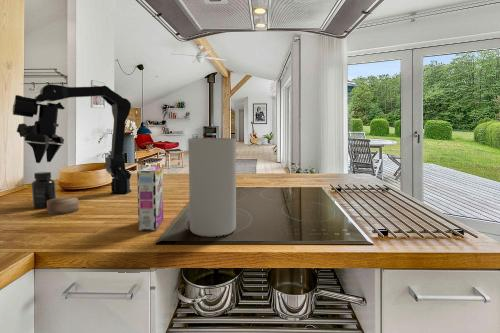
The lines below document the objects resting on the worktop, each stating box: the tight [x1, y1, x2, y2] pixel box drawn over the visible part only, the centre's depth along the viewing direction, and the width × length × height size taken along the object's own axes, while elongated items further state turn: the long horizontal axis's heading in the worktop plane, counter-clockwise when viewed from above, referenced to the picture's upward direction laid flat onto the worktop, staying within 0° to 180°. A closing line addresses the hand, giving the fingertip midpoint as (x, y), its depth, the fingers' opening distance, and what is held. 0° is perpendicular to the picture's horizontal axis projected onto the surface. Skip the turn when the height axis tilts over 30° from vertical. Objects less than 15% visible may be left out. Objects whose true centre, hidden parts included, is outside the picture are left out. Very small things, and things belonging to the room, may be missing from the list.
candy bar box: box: [136, 166, 164, 232], centre depth 89 cm, size 11×5×16 cm, turn 5°
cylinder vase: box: [187, 137, 237, 238], centre depth 85 cm, size 12×12×25 cm
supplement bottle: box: [31, 171, 57, 209], centre depth 110 cm, size 7×7×12 cm
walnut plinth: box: [46, 196, 80, 216], centre depth 104 cm, size 9×9×4 cm
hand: (43, 162), depth 114 cm, fingers open, 9 cm apart
